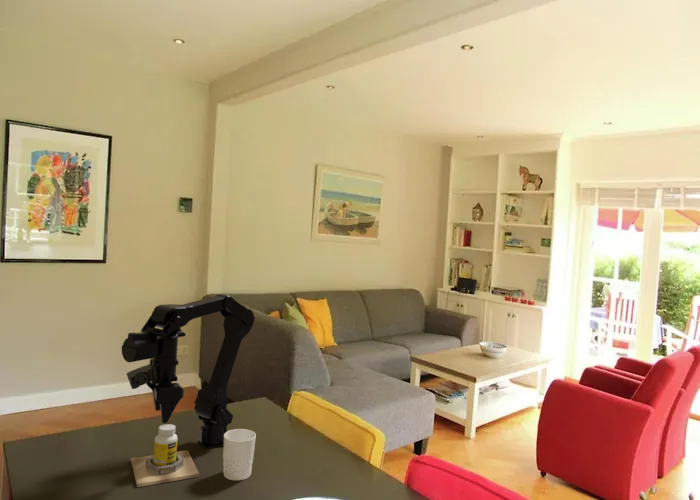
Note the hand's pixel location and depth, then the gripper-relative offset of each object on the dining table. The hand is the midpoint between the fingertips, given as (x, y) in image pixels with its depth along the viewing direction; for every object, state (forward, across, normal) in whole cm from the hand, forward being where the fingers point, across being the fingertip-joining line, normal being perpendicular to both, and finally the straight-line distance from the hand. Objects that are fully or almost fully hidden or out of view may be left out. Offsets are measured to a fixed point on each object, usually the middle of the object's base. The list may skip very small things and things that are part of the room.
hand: (161, 416), depth 125 cm
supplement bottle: (+12, +3, +1) cm, 12 cm away
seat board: (+12, +3, +1) cm, 13 cm away
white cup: (+13, +12, +17) cm, 24 cm away
